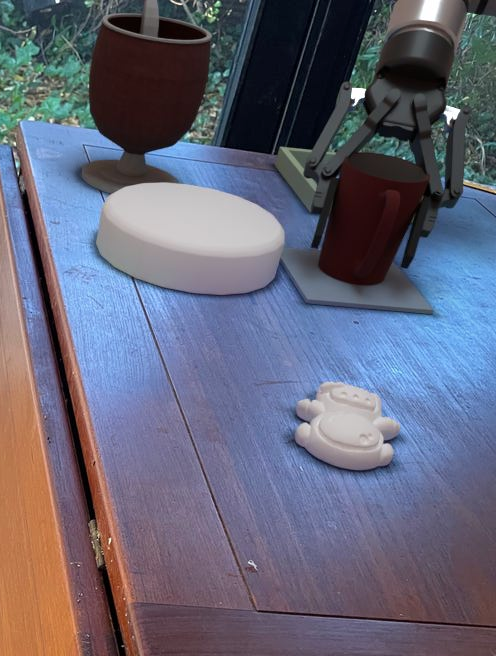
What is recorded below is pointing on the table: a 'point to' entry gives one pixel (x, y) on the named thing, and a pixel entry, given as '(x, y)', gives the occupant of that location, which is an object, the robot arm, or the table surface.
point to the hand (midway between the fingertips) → (361, 252)
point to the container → (190, 238)
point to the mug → (370, 216)
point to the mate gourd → (144, 91)
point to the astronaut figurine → (346, 427)
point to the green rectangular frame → (299, 172)
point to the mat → (350, 286)
